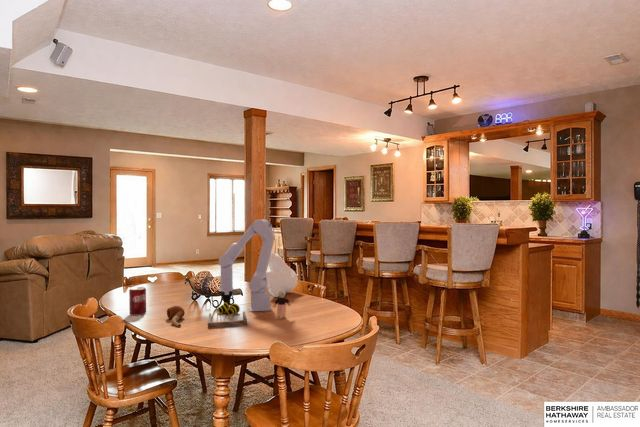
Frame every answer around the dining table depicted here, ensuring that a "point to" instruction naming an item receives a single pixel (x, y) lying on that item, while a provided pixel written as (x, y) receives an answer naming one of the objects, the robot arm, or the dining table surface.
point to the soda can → (137, 301)
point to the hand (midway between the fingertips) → (226, 306)
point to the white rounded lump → (280, 275)
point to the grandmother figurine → (281, 305)
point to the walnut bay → (227, 322)
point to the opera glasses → (229, 309)
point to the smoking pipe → (175, 314)
